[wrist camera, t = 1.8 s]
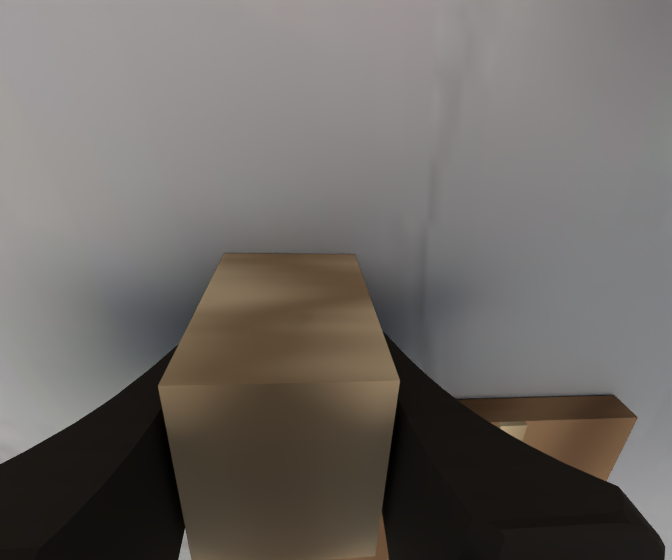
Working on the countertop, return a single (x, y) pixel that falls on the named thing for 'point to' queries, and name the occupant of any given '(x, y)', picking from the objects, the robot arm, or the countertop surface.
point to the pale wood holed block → (281, 411)
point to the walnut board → (554, 433)
